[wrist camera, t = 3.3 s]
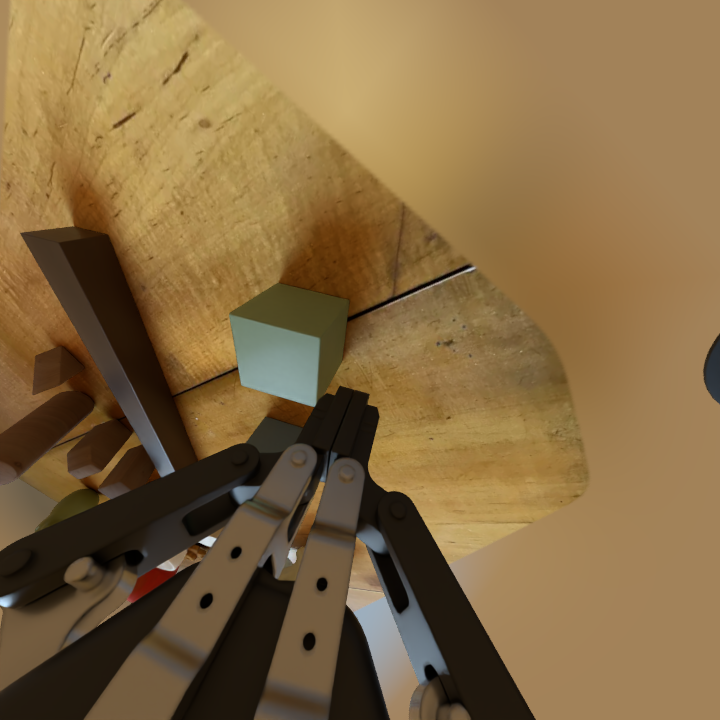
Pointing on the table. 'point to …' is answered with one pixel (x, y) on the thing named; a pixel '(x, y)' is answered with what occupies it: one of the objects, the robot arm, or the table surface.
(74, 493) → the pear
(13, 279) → the table surface
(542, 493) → the table surface
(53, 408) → the wooden block set
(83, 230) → the straightedge
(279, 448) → the blue block
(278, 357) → the green block
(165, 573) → the apple
